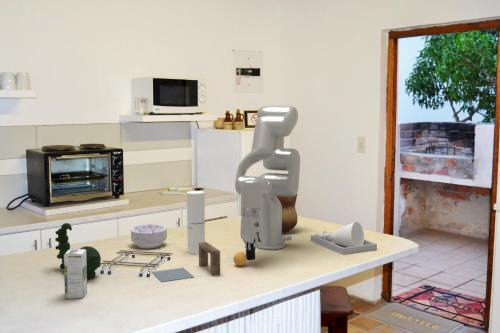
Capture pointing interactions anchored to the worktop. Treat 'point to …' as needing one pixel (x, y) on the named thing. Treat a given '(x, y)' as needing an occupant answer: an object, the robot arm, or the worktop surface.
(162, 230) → the paper bowls
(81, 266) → the syrup box
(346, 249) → the grey rimmed tray
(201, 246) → the bridge
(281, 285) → the worktop surface
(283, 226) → the brown vase
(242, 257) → the ball
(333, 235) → the rocket engine
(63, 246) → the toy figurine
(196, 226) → the cylindrical container
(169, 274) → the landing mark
